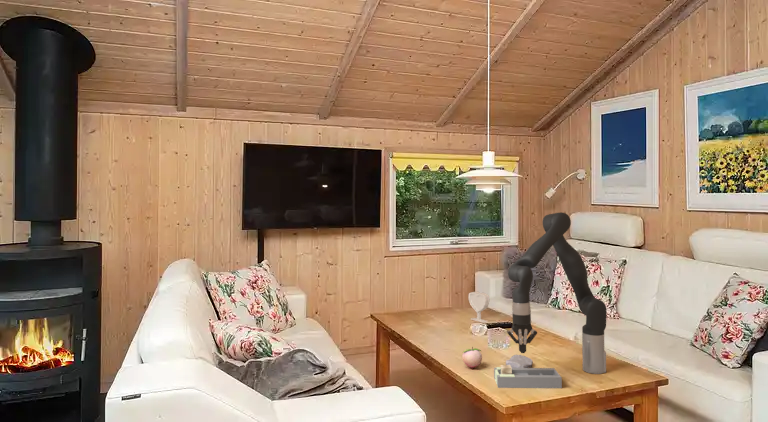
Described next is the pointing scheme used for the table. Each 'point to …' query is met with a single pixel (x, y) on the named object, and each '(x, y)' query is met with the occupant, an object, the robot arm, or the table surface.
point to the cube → (506, 369)
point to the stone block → (519, 362)
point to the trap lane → (528, 378)
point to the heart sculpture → (478, 304)
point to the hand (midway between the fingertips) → (522, 352)
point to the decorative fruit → (472, 357)
